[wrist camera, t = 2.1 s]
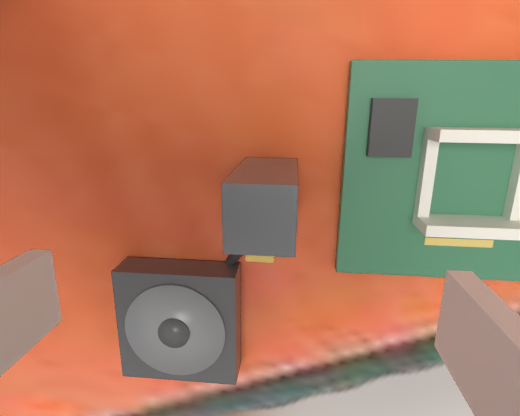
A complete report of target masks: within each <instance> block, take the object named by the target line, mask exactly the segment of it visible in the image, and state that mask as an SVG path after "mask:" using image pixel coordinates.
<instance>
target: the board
mask: <svg viewBox="0 0 520 416" xmlns="http://www.w3.org/2000/svg"><path fill="white" fill-rule="evenodd" d="M335 268H336V272H346V273H366V274H386V275H406V276H426V277H446V271H447V270H457V271H473V272H474V273H475V274H476V275H477V276H478V277H479V278H480V279H486V280H506V281H520V60H352V61H351V62H350V71H349V85H348V99H347V112H346V126H345V140H344V153H343V167H342V181H341V195H340V208H339V222H338V236H337V249H336V263H335Z"/></svg>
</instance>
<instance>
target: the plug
mask: <svg viewBox="0 0 520 416" xmlns="http://www.w3.org/2000/svg"><path fill="white" fill-rule="evenodd" d="M297 204H298V163H297V158H264V157H246V158H245V159H244V160H243V161H242V162H241V163H240V164H239V165H238V166H237V168H236V169H235V170H234V171H233V172H232V173H231V174H230V175H229V176H228V177H227V178H226V179H225V180H224V181H223V182H222V228H223V254H234V255H246V261H250V262H271V263H274V257H275V256H276V257H295V254H296V229H297Z"/></svg>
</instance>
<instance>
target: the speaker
mask: <svg viewBox="0 0 520 416" xmlns="http://www.w3.org/2000/svg"><path fill="white" fill-rule="evenodd" d="M111 274H112V283H113V292H114V301H115V310H116V319H117V328H118V337H119V346H120V355H121V364H122V373H123V376H129V377H142V378H154V379H167V380H180V381H193V382H206V383H219V384H231V385H236V382H237V377H238V373H239V368H240V363H241V269H240V262H236V263H235V265H232V266H229V265H227V264H226V261H206V260H185V259H165V258H144V257H127V258H126V259H125V260H124V261H122V262H121V263H120V264H119V265H118V266H117V267H116V268H115V269H114V270H113V271H111Z"/></svg>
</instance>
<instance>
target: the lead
mask: <svg viewBox="0 0 520 416" xmlns="http://www.w3.org/2000/svg"><path fill="white" fill-rule="evenodd" d="M241 256H242V255H234V254H230V256H229V257H228V258H227V260H226V264H227V265H229V266H232V265H235V263H236V262H237V261H238V260H239V258H240V257H241Z"/></svg>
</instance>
